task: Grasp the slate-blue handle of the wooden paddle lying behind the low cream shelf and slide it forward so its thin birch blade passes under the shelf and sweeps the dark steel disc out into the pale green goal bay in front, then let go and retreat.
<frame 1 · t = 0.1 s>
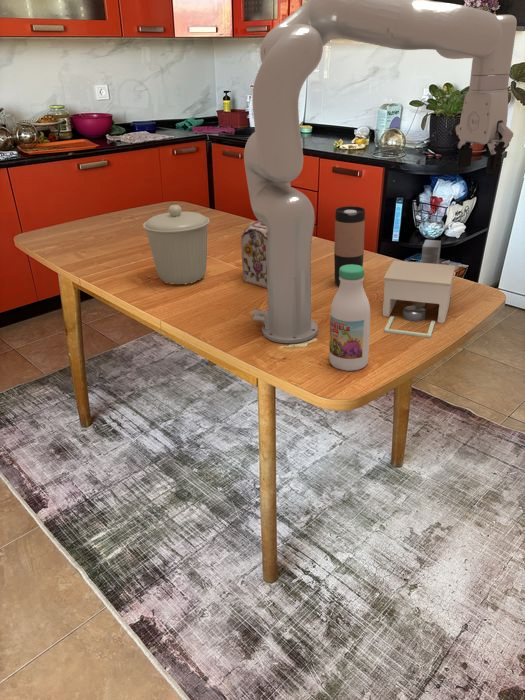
hand: (477, 169, 124), 31 cm above the table, tool pointing down, fingers open, 9 cm apart
decorative jar: (271, 280, 156), on the table
canister: (182, 279, 160), on the table
goal: (409, 327, 126), on the table
travel mug: (347, 284, 152), on the table
milk bottle: (348, 363, 113), on the table
paddle: (428, 279, 151), on the table
shelf: (416, 309, 134), on the table
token: (413, 317, 131), on the table
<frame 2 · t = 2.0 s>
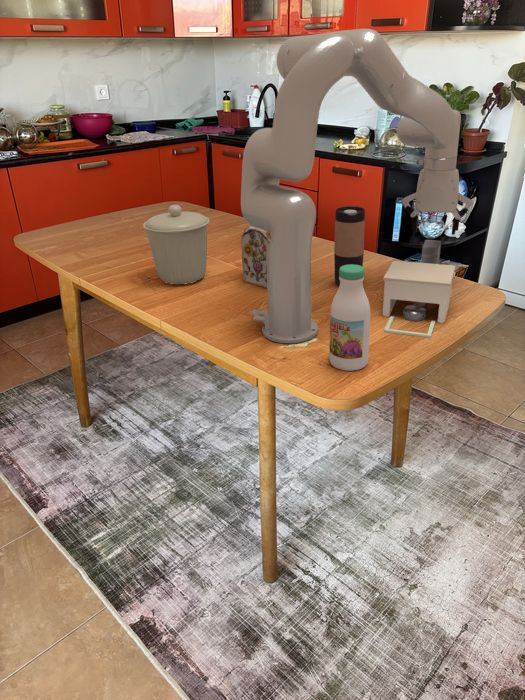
hand: (434, 232, 146), 13 cm above the table, tool pointing down, fingers open, 9 cm apart
nothing on the table moved.
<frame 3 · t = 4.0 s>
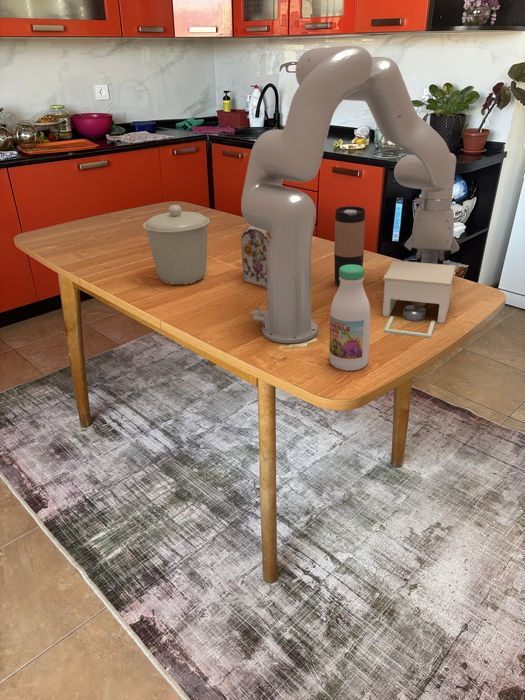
hand: (429, 271, 150), 2 cm above the table, tool pointing down, fingers closed on paddle, 4 cm apart
paddle: (428, 279, 151), on the table, touching gripper
everything else where it was.
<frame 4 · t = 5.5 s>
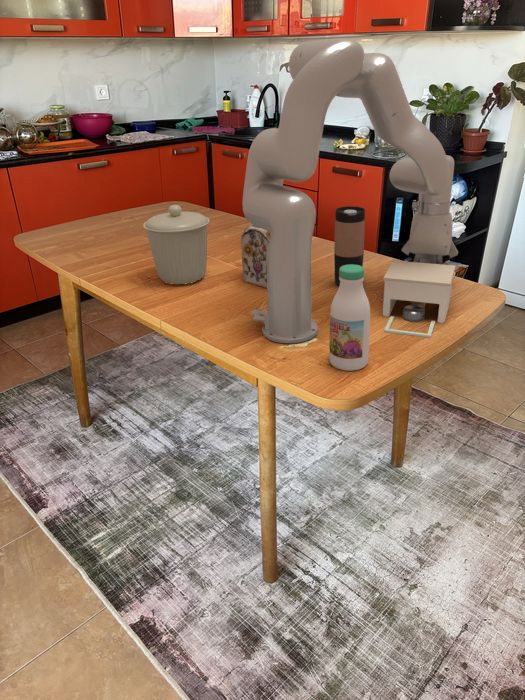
hand: (427, 277, 147), 2 cm above the table, tool pointing down, fingers closed on paddle, 4 cm apart
paddle: (426, 285, 148), on the table, touching gripper
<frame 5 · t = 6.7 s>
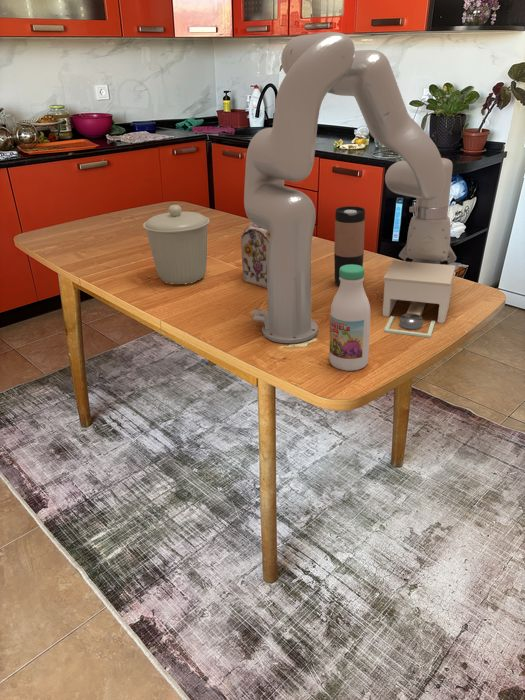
hand: (424, 283, 143), 2 cm above the table, tool pointing down, fingers closed on paddle, 4 cm apart
paddle: (423, 291, 144), on the table, touching gripper, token
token: (410, 326, 127), on the table, touching paddle
everything else where it was.
when the fingers open (2 cm above the table, at t = 8.1 s): paddle stays where it is, on the table.
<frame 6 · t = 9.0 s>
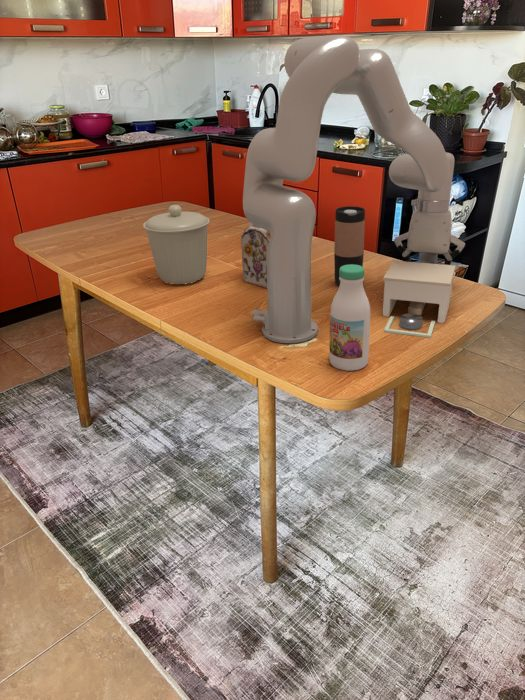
hand: (425, 272, 145), 4 cm above the table, tool pointing down, fingers open, 9 cm apart
paddle: (425, 287, 147), on the table
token: (410, 326, 127), on the table
everything else where it was.
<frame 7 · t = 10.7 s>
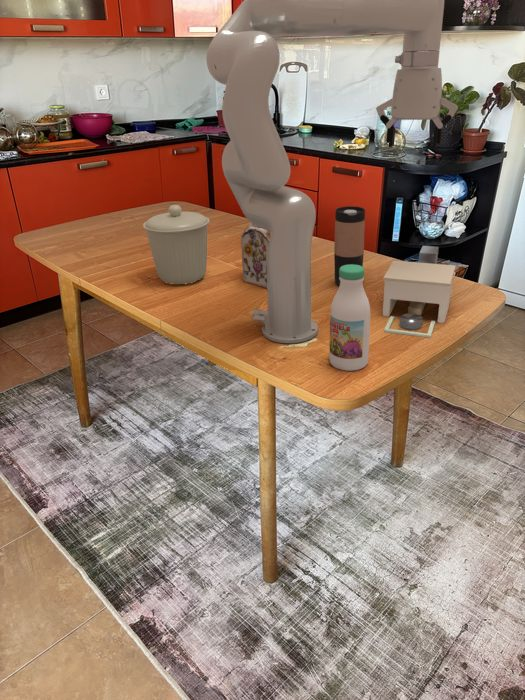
hand: (412, 146, 126), 36 cm above the table, tool pointing down, fingers open, 9 cm apart
nothing on the table moved.
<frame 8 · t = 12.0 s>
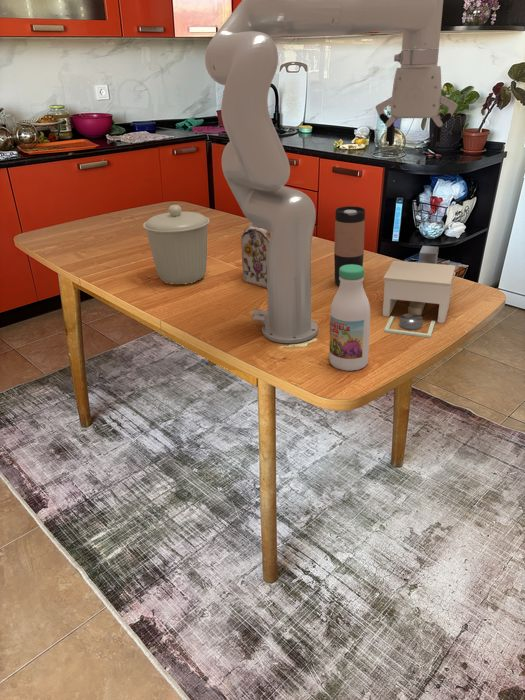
hand: (412, 145, 125), 36 cm above the table, tool pointing down, fingers open, 9 cm apart
nothing on the table moved.
at the end: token inside the target area (1.1 cm from its centre), on the table; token moved 4.9 cm from its start; paddle touching table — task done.
